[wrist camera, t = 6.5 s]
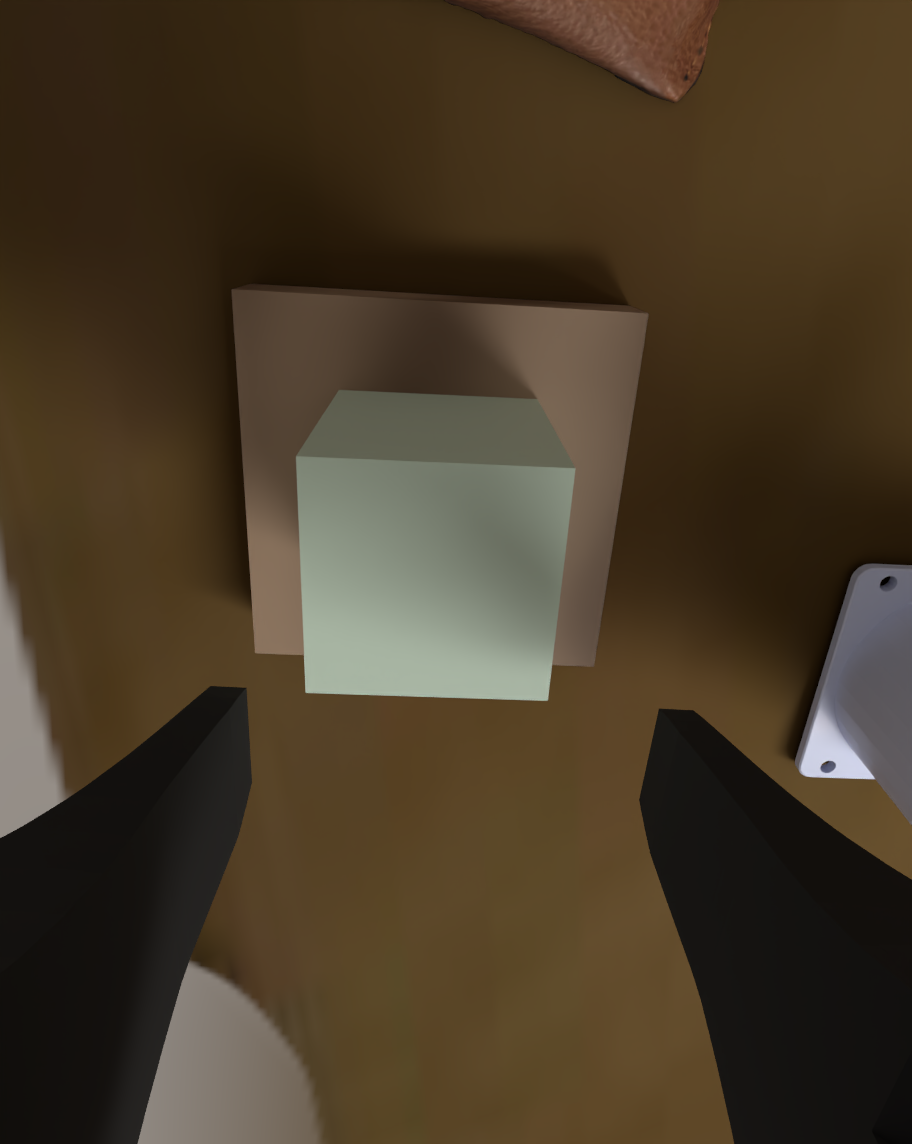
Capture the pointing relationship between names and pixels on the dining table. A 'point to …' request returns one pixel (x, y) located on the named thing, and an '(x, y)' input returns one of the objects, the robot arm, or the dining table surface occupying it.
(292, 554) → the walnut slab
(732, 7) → the dining table surface
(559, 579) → the green block
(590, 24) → the sunglasses case
